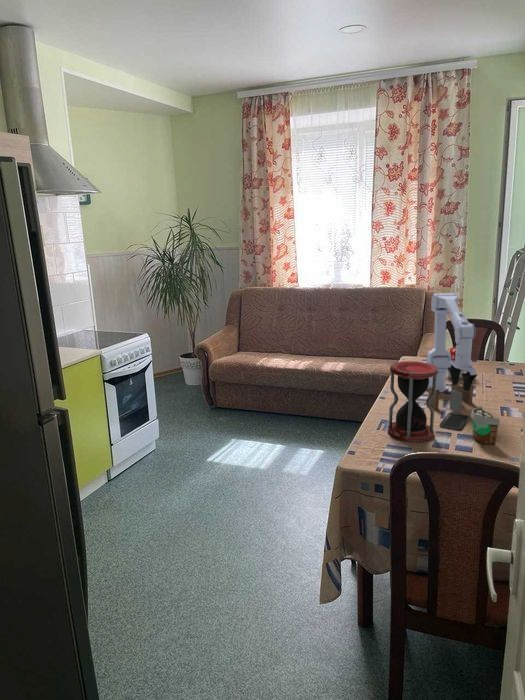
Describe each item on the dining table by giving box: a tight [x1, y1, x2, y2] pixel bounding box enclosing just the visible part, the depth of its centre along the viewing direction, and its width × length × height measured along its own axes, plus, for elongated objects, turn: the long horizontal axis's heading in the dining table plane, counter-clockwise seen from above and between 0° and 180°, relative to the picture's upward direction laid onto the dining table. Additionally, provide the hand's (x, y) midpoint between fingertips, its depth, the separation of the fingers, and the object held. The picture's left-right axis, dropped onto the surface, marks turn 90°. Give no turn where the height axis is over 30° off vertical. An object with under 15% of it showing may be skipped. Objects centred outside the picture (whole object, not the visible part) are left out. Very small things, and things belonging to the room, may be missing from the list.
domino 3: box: [449, 390, 463, 413], centre depth 206 cm, size 2×5×8 cm, turn 17°
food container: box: [470, 406, 500, 446], centre depth 178 cm, size 12×6×10 cm, turn 5°
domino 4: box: [461, 381, 475, 404], centre depth 215 cm, size 2×5×8 cm, turn 17°
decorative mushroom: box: [446, 346, 473, 379], centre depth 248 cm, size 14×14×15 cm
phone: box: [439, 412, 470, 432], centre depth 195 cm, size 8×1×15 cm
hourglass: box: [387, 360, 438, 443], centre depth 183 cm, size 16×16×25 cm
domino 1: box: [427, 386, 440, 409], centre depth 211 cm, size 2×5×8 cm, turn 18°
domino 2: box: [450, 384, 462, 393], centre depth 214 cm, size 2×5×8 cm, turn 17°
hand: (460, 387), depth 205 cm, fingers open, 7 cm apart
